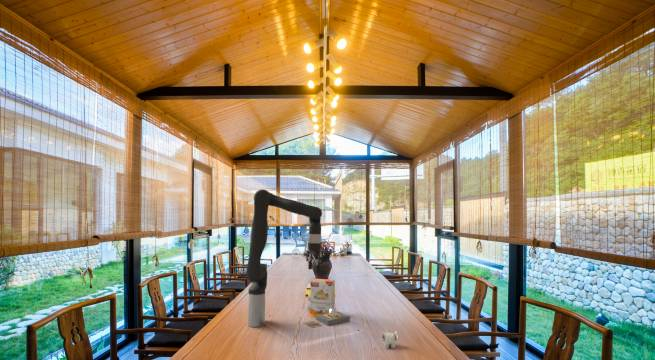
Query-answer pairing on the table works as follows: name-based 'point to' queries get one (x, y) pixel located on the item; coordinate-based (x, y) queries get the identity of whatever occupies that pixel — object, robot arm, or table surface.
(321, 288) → the cracker box
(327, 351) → the table surface
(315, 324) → the brown rectangular block
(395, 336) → the elephant figurine
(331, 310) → the steel peg
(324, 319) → the hole block
